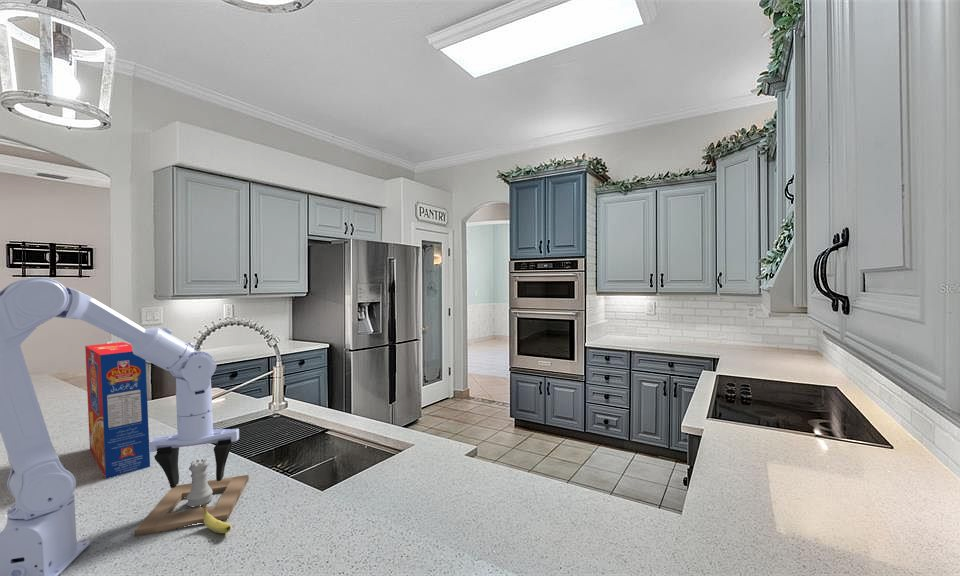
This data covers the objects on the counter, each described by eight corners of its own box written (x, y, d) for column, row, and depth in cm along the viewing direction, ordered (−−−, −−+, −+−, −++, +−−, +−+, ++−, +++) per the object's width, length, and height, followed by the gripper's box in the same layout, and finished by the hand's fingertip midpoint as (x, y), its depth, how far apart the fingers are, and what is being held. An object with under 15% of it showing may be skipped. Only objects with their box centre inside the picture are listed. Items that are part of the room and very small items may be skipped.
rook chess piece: (198, 509, 81) (197, 467, 81) (180, 506, 82) (179, 465, 82) (219, 497, 85) (217, 458, 85) (201, 495, 86) (200, 456, 86)
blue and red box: (89, 449, 114) (85, 345, 114) (128, 440, 120) (123, 342, 120) (105, 478, 96) (100, 354, 95) (150, 466, 102) (145, 350, 101)
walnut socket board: (227, 519, 77) (227, 514, 77) (134, 536, 72) (134, 530, 72) (248, 479, 93) (248, 474, 93) (173, 490, 89) (173, 485, 89)
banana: (198, 528, 74) (197, 505, 74) (208, 523, 76) (207, 501, 76) (225, 540, 70) (224, 517, 70) (235, 535, 72) (234, 511, 72)
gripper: (241, 402, 88) (244, 467, 89) (159, 411, 84) (162, 479, 84) (232, 412, 82) (235, 482, 82) (143, 421, 77) (146, 496, 78)
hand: (197, 482), depth 83 cm, fingers open, 7 cm apart
